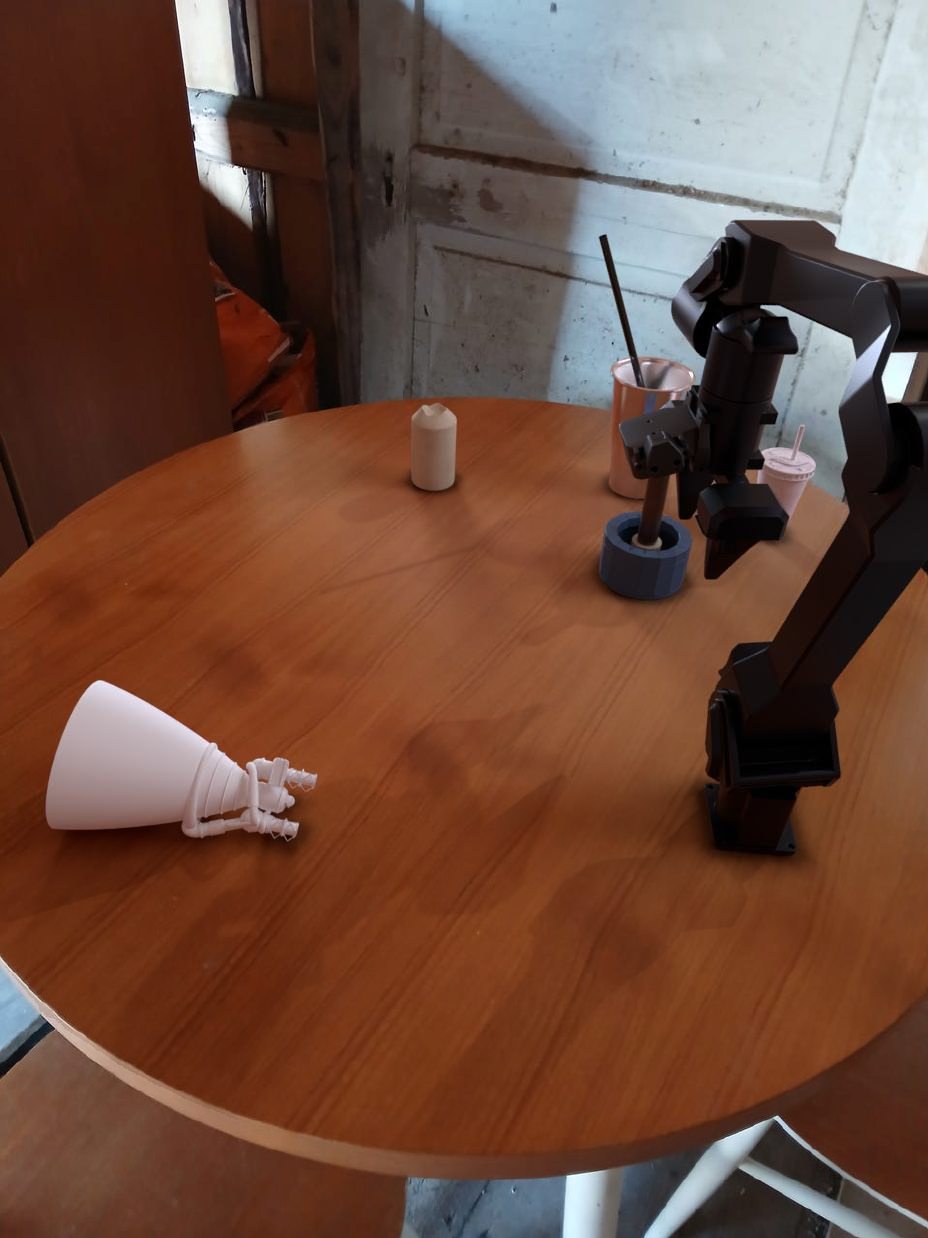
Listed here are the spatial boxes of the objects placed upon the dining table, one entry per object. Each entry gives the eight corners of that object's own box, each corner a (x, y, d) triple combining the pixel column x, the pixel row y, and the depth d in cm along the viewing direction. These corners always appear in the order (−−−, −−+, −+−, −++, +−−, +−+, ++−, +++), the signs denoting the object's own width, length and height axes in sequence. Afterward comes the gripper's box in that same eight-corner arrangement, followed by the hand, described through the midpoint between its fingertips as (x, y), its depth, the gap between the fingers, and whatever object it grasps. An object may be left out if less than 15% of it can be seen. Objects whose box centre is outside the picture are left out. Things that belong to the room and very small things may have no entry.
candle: (405, 486, 114) (405, 413, 108) (419, 466, 118) (420, 395, 112) (447, 494, 113) (449, 420, 107) (460, 474, 117) (462, 402, 111)
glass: (569, 474, 118) (597, 233, 100) (641, 459, 122) (681, 224, 103) (613, 514, 110) (653, 262, 92) (689, 497, 114) (741, 251, 96)
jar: (687, 603, 97) (697, 560, 93) (601, 596, 97) (607, 554, 94) (677, 555, 104) (686, 514, 101) (597, 549, 104) (603, 508, 101)
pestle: (635, 581, 99) (654, 480, 91) (621, 565, 101) (638, 465, 93) (661, 576, 99) (681, 475, 92) (646, 560, 102) (666, 461, 94)
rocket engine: (327, 731, 66) (81, 672, 65) (285, 890, 64) (29, 833, 62) (328, 737, 78) (119, 687, 76) (293, 873, 75) (76, 824, 74)
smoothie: (796, 550, 106) (830, 441, 97) (740, 542, 106) (769, 434, 98) (792, 521, 111) (824, 416, 102) (738, 514, 111) (766, 409, 103)
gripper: (615, 337, 78) (591, 491, 88) (664, 444, 64) (629, 614, 74) (740, 339, 79) (703, 492, 89) (816, 445, 65) (761, 613, 75)
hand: (696, 547), depth 82 cm, fingers open, 9 cm apart
